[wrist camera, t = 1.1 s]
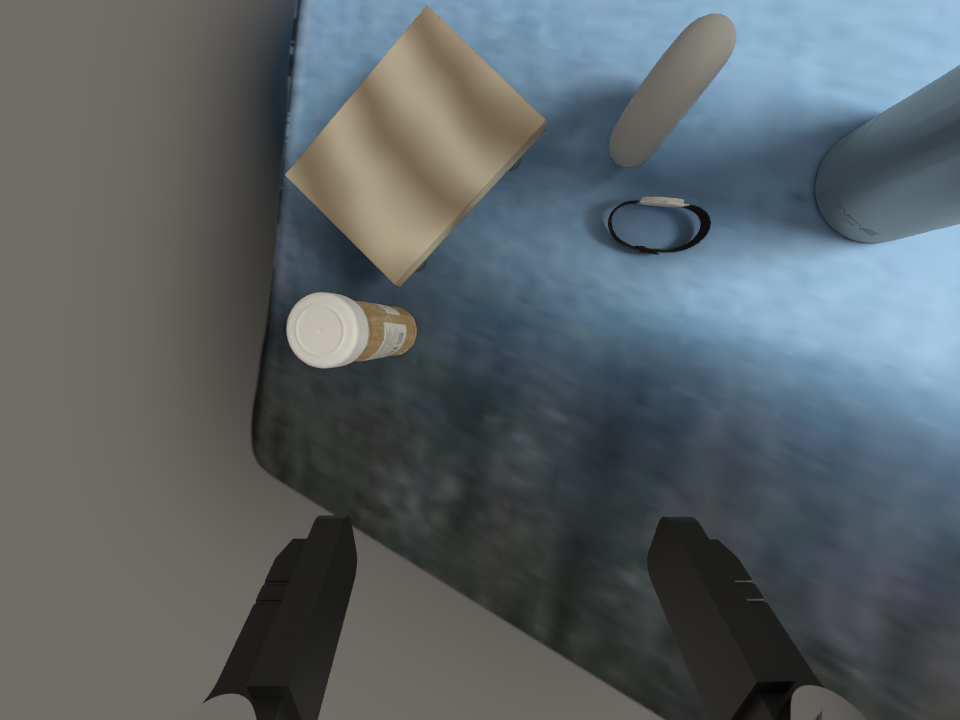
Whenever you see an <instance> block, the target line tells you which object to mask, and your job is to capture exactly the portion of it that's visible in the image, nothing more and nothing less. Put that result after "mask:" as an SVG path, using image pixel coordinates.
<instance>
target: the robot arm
mask: <svg viewBox="0 0 960 720" xmlns="http://www.w3.org/2000/svg"><path fill="white" fill-rule="evenodd" d="M815 196H816V200H817V204H818V208H819V210H820V212H821V214H822V216H823V218H824V219H825V220H826V222H827V223H828V224H829V225H830V226H831V227H832V228H833V229H834V230H836V231H837V232H838V233H840V234H841V235H843V236H845V237H847V238H849V239H852V240H855V241H860V242H864V243H882V242H887V241H893V240H897V239H901V238H905V237H909V236H913V235H916V234H920V233H924V232H928V231H932V230H936V229H941V228H945V227H949V226H953V225H957V224H960V65H959V66H957V67H956V68H954V69H953V70H951V71H949V72H948V73H946V74H945V75H943V76H941V77H940V78H938V79H936V80H935V81H933V82H932V83H930V84H928V85H927V86H925V87H923V88H922V89H920V90H919V91H917V92H915V93H914V94H912V95H911V96H909V97H907V98H906V99H904V100H902V101H901V102H899V103H898V104H896V105H894V106H892V107H891V108H889V109H887V110H886V111H884V112H883V113H881V114H879V115H878V116H876V117H875V118H873V119H872V120H870V121H868V122H867V123H865V124H864V125H862V126H860V127H859V128H857V129H856V130H854V131H852V132H851V133H849V134H848V135H846V136H844V137H843V138H841V139H840V140H839V141H838V142H837V143H836V144H835V145H834V146H833V147H832V148H831V149H830V150H829V152H828V153H827V154H826V156H825V157H824V159H823V161H822V163H821V165H820V167H819V170H818V173H817V178H816V182H815ZM647 565H648V572H649V576H650V579H651V582H652V584H653V586H654V589H655V591H656V594H657V596H658V598H659V601H660V603H661V606H662V608H663V610H664V613H665V615H666V617H667V620H668V622H669V625H670V627H671V629H672V632H673V634H674V636H675V639H676V641H677V644H678V646H679V648H680V651H681V653H682V655H683V658H684V660H685V663H686V665H687V667H688V670H689V672H690V674H691V677H692V679H693V682H694V684H695V686H696V689H697V691H698V694H699V696H700V698H701V701H702V703H703V705H704V708H705V710H706V713H707V715H708V717H709V720H867V719H866V718H865V717H864V716H863V715H862V714H861V713H860V712H859V711H858V710H857V709H856V708H855V707H854V706H853V705H851V704H850V703H849V702H847V701H846V700H845V699H843V698H842V697H840V696H839V695H837V694H836V693H834V692H832V691H830V690H828V689H825V688H824V686H823V685H822V684H821V683H820V682H819V680H818V679H817V678H816V676H815V675H814V673H813V672H812V670H811V669H810V667H809V666H808V664H807V663H806V661H805V660H804V658H803V657H802V655H801V654H800V652H799V651H798V649H797V647H796V646H795V644H794V643H793V641H792V640H791V638H790V637H789V635H788V634H787V632H786V631H785V629H784V628H783V626H782V625H781V623H780V621H779V620H778V618H777V617H776V615H775V614H774V612H773V611H772V609H771V608H770V606H769V605H768V603H765V601H764V597H763V596H762V594H761V592H760V591H759V589H758V588H757V586H756V585H755V584H753V583H752V579H751V577H750V576H749V574H748V573H747V571H746V570H745V568H744V567H743V565H742V563H741V562H740V560H739V559H738V558H737V557H736V556H735V555H734V554H733V553H732V552H731V551H730V550H729V549H728V548H726V547H725V546H724V545H723V544H722V543H721V542H720V541H719V540H709V538H708V536H707V535H706V533H705V532H704V530H703V528H702V527H701V525H700V524H699V522H698V521H697V520H696V519H695V518H693V517H662V518H661V519H660V521H659V523H658V526H657V529H656V532H655V535H654V538H653V541H652V544H651V546H650V549H649V552H648V557H647ZM356 568H357V552H356V546H355V541H354V535H353V529H352V523H351V518H350V516H318V517H317V518H316V520H315V521H314V523H313V526H312V528H311V531H310V533H309V536H308V538H307V539H293V540H292V541H291V542H290V543H289V544H288V545H287V546H286V547H285V548H284V549H283V551H282V552H281V553H280V554H279V555H278V556H277V557H276V559H275V560H274V563H273V565H272V567H271V569H270V571H269V573H268V575H267V578H266V580H265V584H264V585H263V586H262V588H261V590H260V592H259V594H258V597H257V599H256V604H255V605H253V607H252V609H251V612H250V614H249V616H248V618H247V620H246V622H245V624H244V626H243V628H242V631H241V633H240V635H239V637H238V639H237V641H236V643H235V645H234V648H233V650H232V652H231V654H230V656H229V658H228V661H227V663H226V665H225V667H224V669H223V671H222V673H221V675H220V677H219V680H218V681H217V683H216V685H215V687H214V689H213V690H212V691H211V693H210V694H209V696H208V697H207V698H206V700H205V701H204V702H203V703H202V704H201V705H200V706H199V707H197V708H196V709H195V710H194V711H193V712H191V713H190V714H189V715H188V716H187V717H186V718H185V719H184V720H318V716H319V712H320V709H321V705H322V701H323V697H324V694H325V690H326V686H327V682H328V678H329V674H330V671H331V667H332V663H333V659H334V656H335V652H336V648H337V644H338V640H339V637H340V633H341V629H342V625H343V621H344V618H345V614H346V610H347V606H348V603H349V599H350V595H351V591H352V587H353V584H354V580H355V575H356Z"/></svg>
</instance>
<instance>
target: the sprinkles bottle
mask: <svg viewBox="0 0 960 720" xmlns="http://www.w3.org/2000/svg"><path fill="white" fill-rule="evenodd" d="M286 331H287V338H288V342H289V345H290V347H291V349H292V350H293V352H294V353H295V354H296V356H297V357H298V358H299V359H300V360H302V361H303V362H305V363H306V364H308V365H310V366H313V367H317V368H332V367H339V366H343V365H347V364H349V363H351V362H353V361H364V360H370V359H376V358H381V357H386V356H390V355H391V356H395V355H400V354H403V353H405V352H406V351H407V350H409V349H410V347H411V346H412V345H413V344H414V341H415V339H416V334H417V328H416V324H415V320H414V318H413V317H412V316H411V315H410V314H409V313H408V312H407V311H406V310H404V309H402V308H400V307H395V306H386V305H381V304H375V303H368V302H360V301H353V300H352V299H350V298H348V297H346V296H343V295H339V294H334V293H326V292H318V293H313V294H310V295H307V296H305V297H304V298H302V299H301V300H300V301H298V302H297V303H296V304H295V306H294V307H293V308H292V310H291V312H290V314H289V317H288V320H287V327H286Z"/></svg>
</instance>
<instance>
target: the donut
mask: <svg viewBox="0 0 960 720" xmlns="http://www.w3.org/2000/svg"><path fill="white" fill-rule="evenodd" d="M735 41H736V31H735V28H734V24H733V23H732V22H731V20H730V19H729V18H728V17H726V16H724V15H722V14H709V15H706V16H703V17H700V18H698V19H697V20H695V21H694V22H692V23H691V24H690V25H689V26H688V27H687V28H686V29H685V30H684V31H683V32H682V33H681V34H680V35H679V36H678V37H677V39H676V40H675V41H674V42H673V43H672V44H671V46H670V47H669V48H668V49H667V50H666V52H665V53H664V54H663V56H662V57H661V58H660V59H659V61H658V62H657V63H656V65H655V66H654V67H653V69H652V70H651V71H650V73H649V74H648V76H647V77H646V78H645V80H644V81H643V83H642V84H641V85H640V87H639V88H638V90H637V91H636V93H635V94H634V96H633V97H632V99H631V100H630V102H629V103H628V105H627V106H626V108H625V110H624V111H623V113H622V115H621V116H620V118H619V120H618V121H617V123H616V125H615V127H614V129H613V131H612V134H611V137H610V141H609V153H610V155H611V158H612V159H613V160H614V162H615V163H616V164H618V165H620V166H622V167H628V168H630V167H635V166H638V165H640V164H642V163H644V162H645V161H646V160H647V159H648V158H649V157H650V156H651V155H652V154H653V153H654V152H655V151H656V149H657V148H658V147H659V146H660V145H661V143H662V142H663V141H664V140H665V139H666V137H667V136H668V135H669V134H670V133H671V131H672V130H673V129H674V128H675V126H676V125H677V124H678V123H679V122H680V120H681V119H682V118H683V117H684V115H685V114H686V113H687V112H688V110H689V109H690V108H691V107H692V105H693V104H694V103H695V102H696V100H697V99H698V98H699V97H700V95H701V94H702V93H703V92H704V90H705V89H706V88H707V87H708V85H709V84H710V83H711V82H712V80H713V79H714V78H715V77H716V75H717V74H718V73H719V71H720V70H721V69H722V68H723V66H724V65H725V63H726V62H727V60H728V59H729V57H730V55H731V54H732V51H733V49H734V46H735Z"/></svg>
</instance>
